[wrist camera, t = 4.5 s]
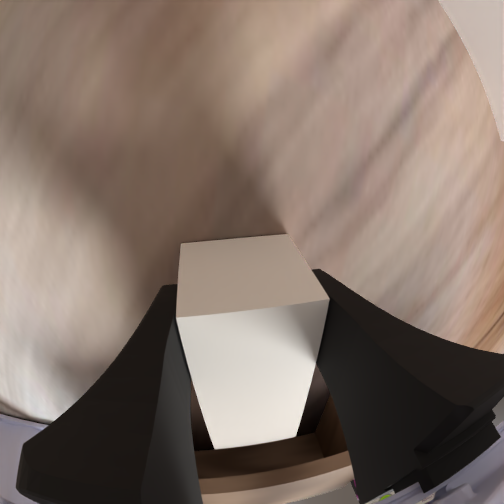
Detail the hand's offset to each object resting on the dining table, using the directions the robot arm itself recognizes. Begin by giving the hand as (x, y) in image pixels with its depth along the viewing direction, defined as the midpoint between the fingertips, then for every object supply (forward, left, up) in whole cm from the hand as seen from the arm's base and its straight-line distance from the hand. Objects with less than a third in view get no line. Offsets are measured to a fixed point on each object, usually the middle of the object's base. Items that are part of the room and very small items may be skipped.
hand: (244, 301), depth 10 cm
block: (0, -3, -2) cm, 4 cm away
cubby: (0, -14, -2) cm, 15 cm away
